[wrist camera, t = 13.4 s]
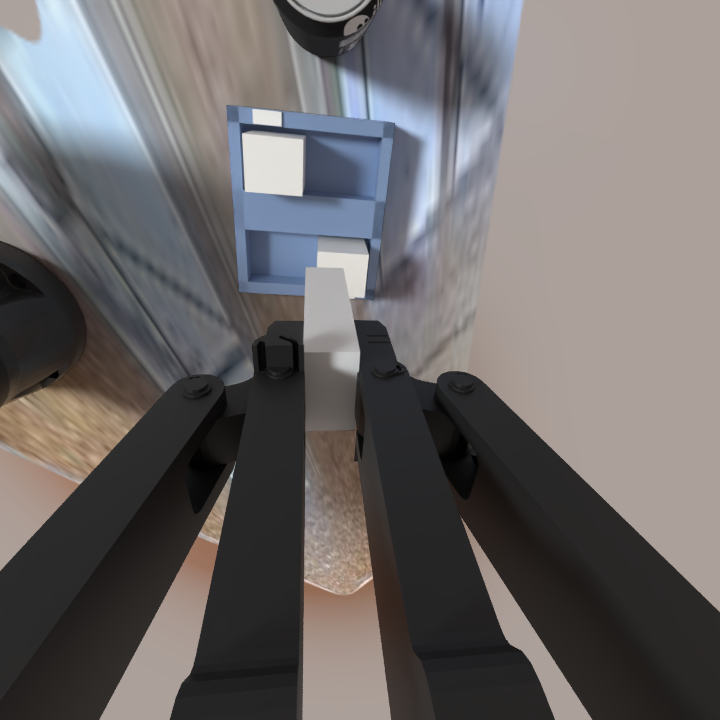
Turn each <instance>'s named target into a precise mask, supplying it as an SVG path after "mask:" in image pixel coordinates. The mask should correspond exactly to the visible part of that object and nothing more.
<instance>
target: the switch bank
mask: <svg viewBox="0 0 720 720" xmlns="http://www.w3.org/2000/svg"><path fill="white" fill-rule="evenodd" d="M227 120H228V135H229V149H230V164H231V179H232V194H233V209H234V223H235V238H236V253H237V268H238V283H239V292H245V293H263V294H280V295H298V296H305V273H306V267H317V250H318V235H327V236H341V237H354V238H364V241H365V244H366V247H367V250H368V254H369V259H368V268H367V278H366V287H365V296H364V298H359V297H349V299H369V300H374V294H375V286H376V278H377V269H378V261H379V253H380V244H381V236H382V227H383V219H384V211H385V202H386V194H387V186H388V177H389V169H390V161H391V152H392V144H393V136H394V127H395V123H392V122H386V121H376V120H367V119H358V118H348V117H339V116H330V115H320V114H311V113H302V112H292V111H283V110H274V109H264V108H255V107H246V106H236V105H227ZM251 130H260V131H270V132H280V133H290V134H300V135H306V167H305V188H304V192H303V196H290V195H278V194H266V193H254V192H245V180H244V161H243V142H242V133H245V132H248V131H251Z"/></svg>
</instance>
